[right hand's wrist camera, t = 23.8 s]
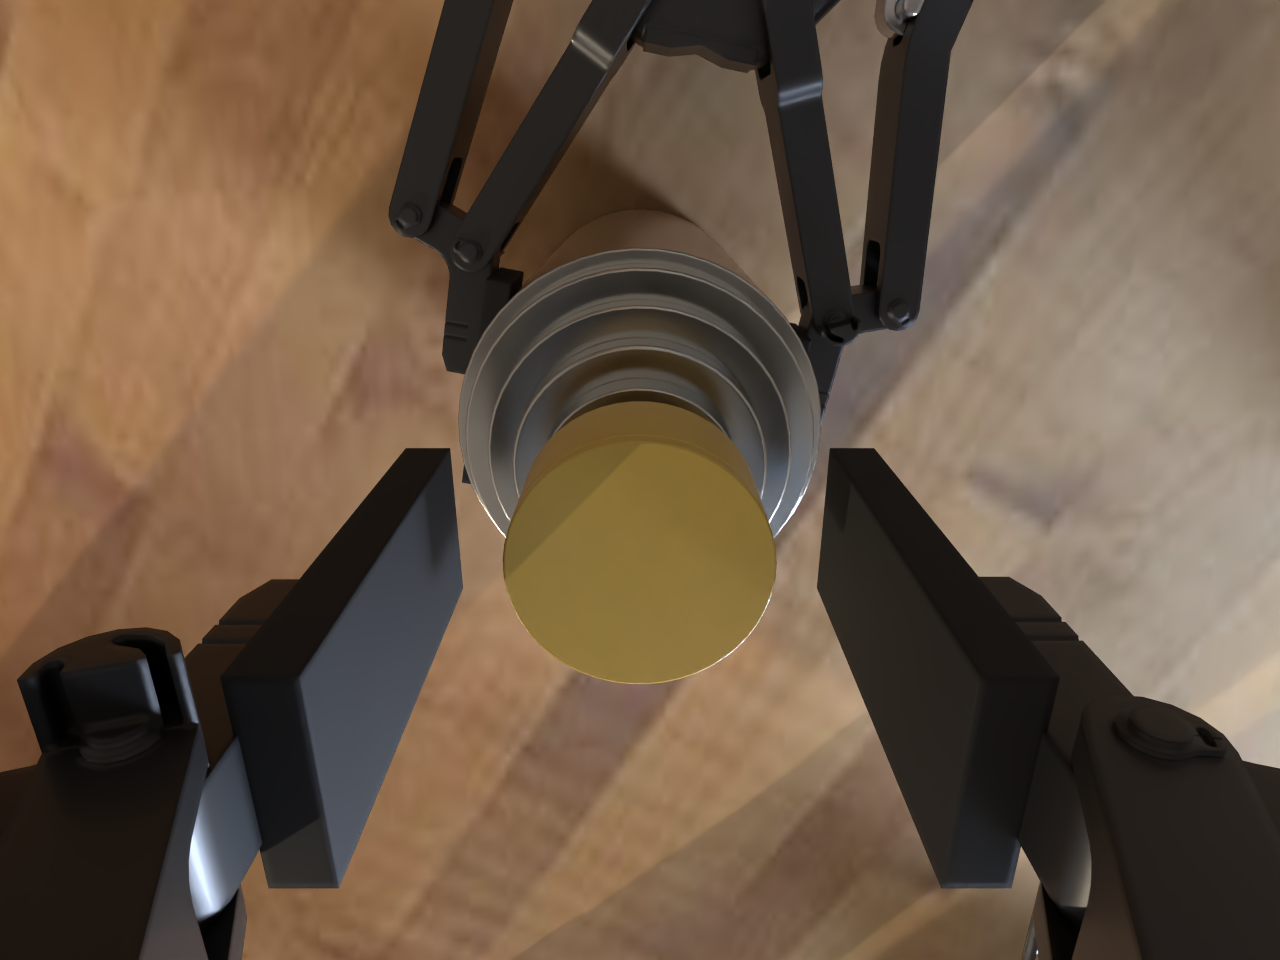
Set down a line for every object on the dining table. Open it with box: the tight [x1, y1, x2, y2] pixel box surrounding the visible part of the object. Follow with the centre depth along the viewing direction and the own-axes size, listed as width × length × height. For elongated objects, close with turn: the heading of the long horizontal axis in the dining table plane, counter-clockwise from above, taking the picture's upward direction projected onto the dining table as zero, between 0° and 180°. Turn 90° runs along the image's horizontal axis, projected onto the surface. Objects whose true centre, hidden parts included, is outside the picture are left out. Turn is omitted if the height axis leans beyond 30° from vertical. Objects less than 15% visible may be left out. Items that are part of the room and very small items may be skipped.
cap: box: [503, 401, 777, 684], centre depth 13 cm, size 4×4×2 cm
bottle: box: [458, 209, 821, 538], centre depth 22 cm, size 8×8×20 cm
